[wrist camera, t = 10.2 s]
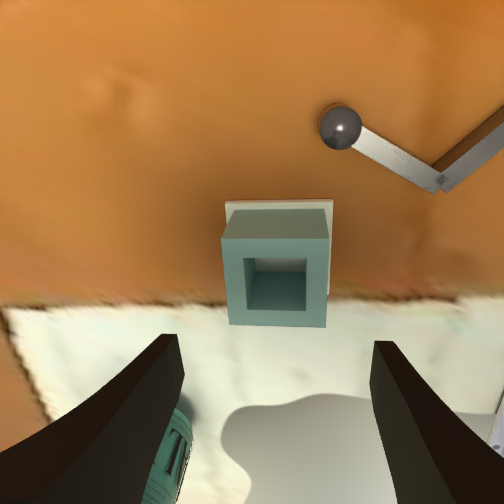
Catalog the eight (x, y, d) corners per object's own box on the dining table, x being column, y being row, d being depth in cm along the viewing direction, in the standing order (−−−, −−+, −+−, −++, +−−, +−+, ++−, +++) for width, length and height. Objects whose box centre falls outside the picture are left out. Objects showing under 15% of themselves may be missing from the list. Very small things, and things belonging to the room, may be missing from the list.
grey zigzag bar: (642, 182, 17) (690, 197, 15) (316, 189, 19) (318, 203, 17) (691, 69, 15) (755, 69, 13) (318, 91, 17) (321, 94, 15)
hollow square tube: (321, 285, 22) (325, 327, 18) (240, 284, 22) (229, 324, 19) (324, 208, 19) (329, 238, 16) (234, 209, 20) (220, 238, 16)
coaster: (328, 290, 22) (329, 294, 22) (234, 288, 23) (233, 292, 23) (332, 198, 20) (333, 201, 19) (226, 200, 20) (224, 203, 20)
